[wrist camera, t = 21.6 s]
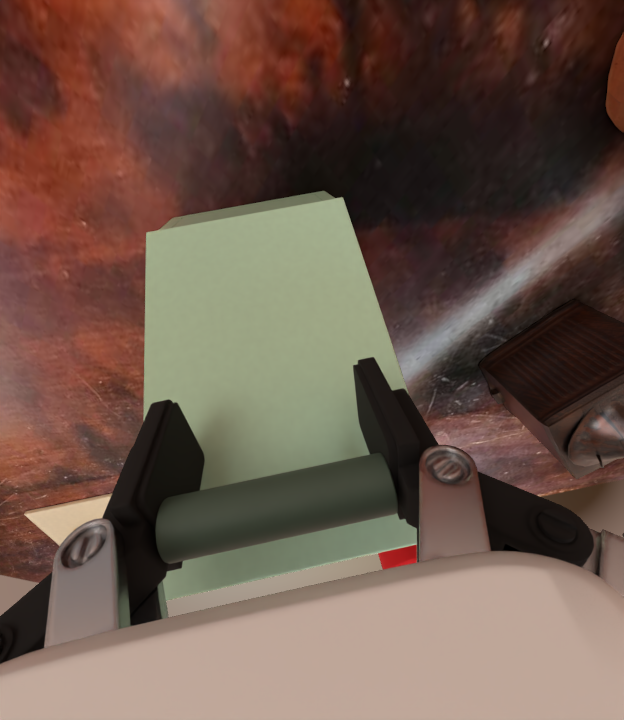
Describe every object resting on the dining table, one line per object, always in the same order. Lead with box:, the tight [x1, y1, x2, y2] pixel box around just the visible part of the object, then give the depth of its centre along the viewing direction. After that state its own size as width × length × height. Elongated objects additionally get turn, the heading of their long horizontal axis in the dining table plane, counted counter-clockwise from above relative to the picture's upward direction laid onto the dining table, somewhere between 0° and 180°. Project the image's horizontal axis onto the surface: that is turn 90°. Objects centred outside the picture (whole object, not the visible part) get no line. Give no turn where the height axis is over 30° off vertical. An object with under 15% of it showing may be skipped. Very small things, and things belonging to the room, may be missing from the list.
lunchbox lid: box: [144, 197, 417, 601], centre depth 13 cm, size 16×11×5 cm
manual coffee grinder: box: [479, 299, 624, 537], centre depth 28 cm, size 16×11×18 cm
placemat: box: [24, 493, 112, 546], centre depth 39 cm, size 12×12×1 cm
